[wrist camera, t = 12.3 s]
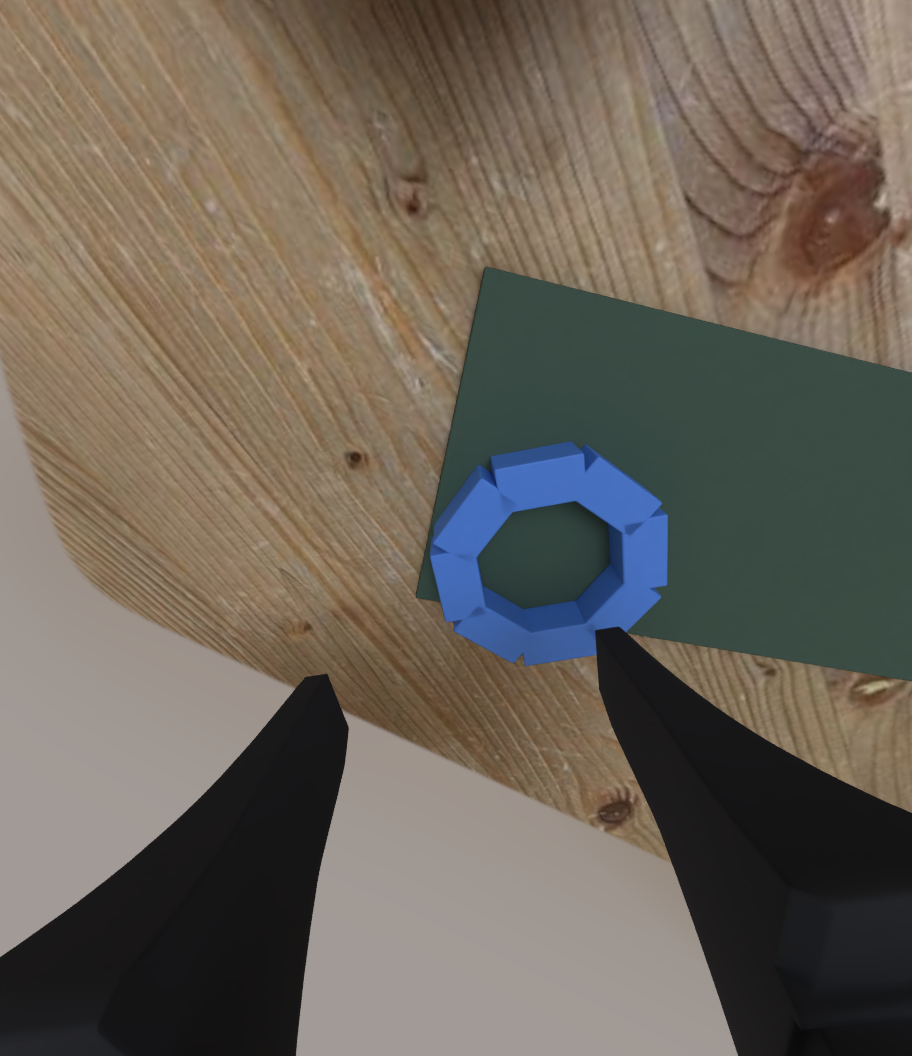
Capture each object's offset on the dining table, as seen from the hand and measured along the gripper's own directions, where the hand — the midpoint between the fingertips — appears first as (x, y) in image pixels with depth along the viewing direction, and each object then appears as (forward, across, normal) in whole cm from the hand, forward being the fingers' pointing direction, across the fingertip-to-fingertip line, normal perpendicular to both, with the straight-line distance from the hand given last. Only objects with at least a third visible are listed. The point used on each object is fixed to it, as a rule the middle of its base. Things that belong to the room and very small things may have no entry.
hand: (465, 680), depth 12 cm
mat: (+7, -19, +3) cm, 20 cm away
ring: (+6, -3, 0) cm, 7 cm away
